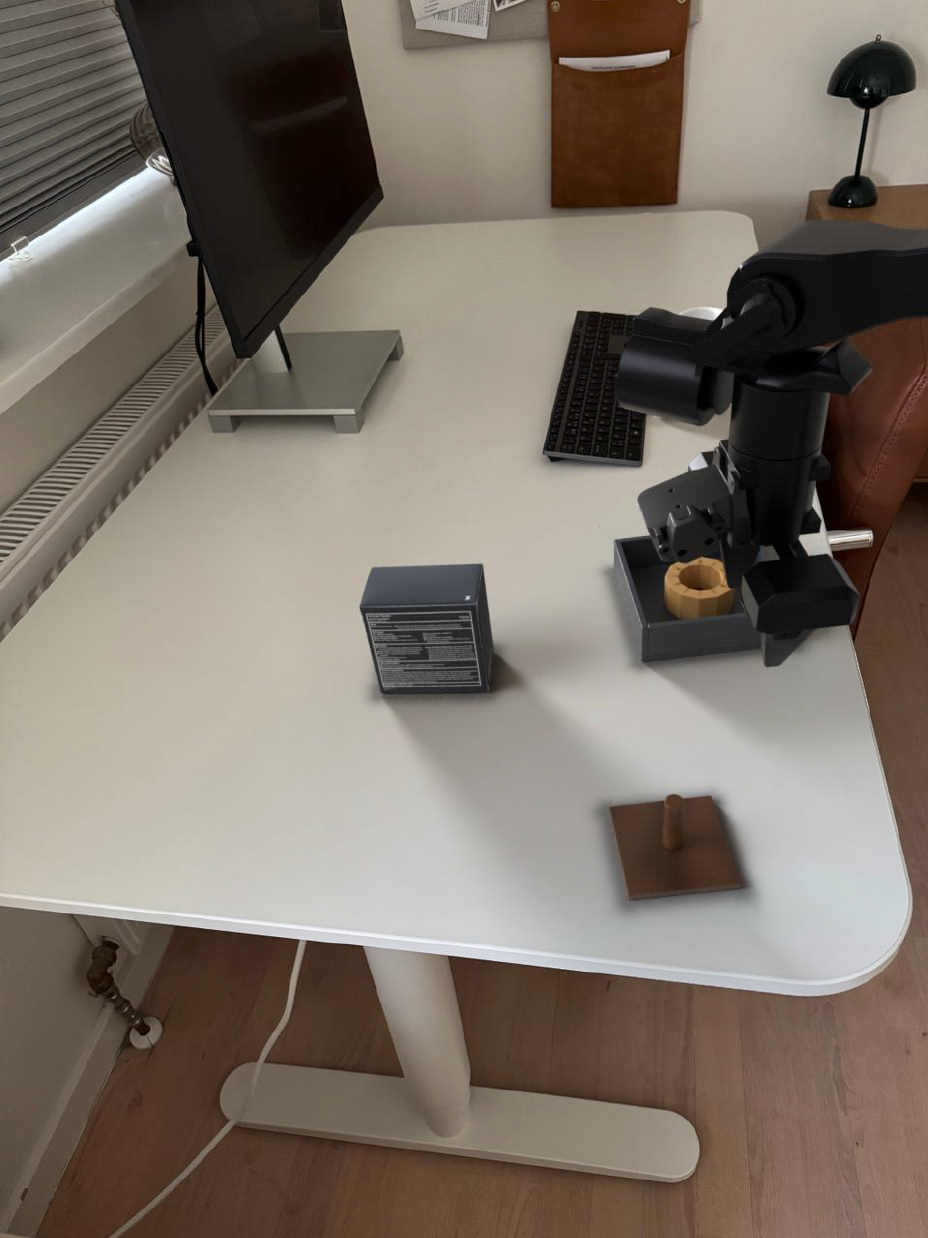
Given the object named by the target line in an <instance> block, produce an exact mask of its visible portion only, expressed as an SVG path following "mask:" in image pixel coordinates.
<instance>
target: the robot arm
mask: <svg viewBox="0 0 928 1238" xmlns="http://www.w3.org/2000/svg"><path fill="white" fill-rule="evenodd" d="M722 310H723V311H722V312H721V313H720V314H719V315H718V317H717V318H716V319H715V320H707V319H701V318H695V317H689V316H683V315H679V314H678V313H674V312H672V311H669V310H667V309H664V308H661V307H653V306H649V307H648V308H646V309H645V310H643V311H642V312H640V313H639V314H637V315H636V316H634V317H633V319H632V334H631V335H630V337H629V338H628V341H627V342H626V343H625V344H626V345H625V347H624V348H623V352H622V355H621V357H620V362H619V365H618V370H617V371H616V373H615V375H614V385H613V386H614V394H615V397H616V398H615V399H616V400H617V403H618V404H619V406H620V407H621V408H623V409H624V410H629V411H633V412H637V413H640V414H641V413H642V414H645V415H649V416H653V417H655V416H657V417H661V418H662V419H666V420H671V421H675V422H677V423H683V424H687V425H691V426H696V427H704V426H705V425H707V424H709V422H710V421H711V420H712V419H713V418H714V417H715V415H718V416H719V415H722V414H725V413H726V411H727V410H728V409H729V408H730V406H731V408H730V416H729V417H730V419H729V431H728V438H727V439H726V438H725V439H719V440H718V446H714V448H713V450H707V451H701V452H700V453H698V454H697V456H695V457H694V458H693V459H692V460H691V461H690V462H689V463H688V465H687V471H686V472H683V473H680V474H678V475H676V476H673V477H671V478H669V479H667V480H664V481H662V482H660V483H657V484H656V485H653V486H651V487H648V488H646V489H645V490H643V491H642V492H640V493H639V494H638V496H636V497H637V498H636V504H637V506H638V510H639V512H640V514H641V517H642V520H643V522H644V525H645V527H646V529H647V531H648V534H649V535H650V536H651V539H652V541H653V543H654V545H655V548H656V550H657V552H658V555H659V557H660V559H661V560H662V561H665V562H674V561H677V562H679V563H683V564H686V563H689V562H691V561H694V560H696V559H699V558H701V557H703V556H706V555H708V554H711V553H713V552H715V551H716V550H717V548H718V546H719V547H720V552H721V557H722V562H723V567H724V572H725V577H726V582H727V586H728V588H730V589H734V588H740V587H742V595H743V599H740V601H741V603H742V605H743V607H744V609H745V612H746V614H747V616H748V618H749V620H750V622H751V624H752V625H753V626H754V627H755V629H756V630H758V631H760V632H761V647H762V648H761V656H762V663H763V665H764V667H765V668H774V667H779V666H781V665H782V664H783V663H784V662H785V661H786V660H787V659H789V657H790V656H791V655H792V654H793V653H794V652H795V651H796V650H797V649H798V648H799V647H800V646H801V645H803V643H804V642H805V641H806V640H807V639H808V638H809V637H810V636H811V635H812V634H813V633H814V632H817V630H820V629H826V628H828V629H829V628H837V627H844V626H845V627H846V626H850V625H851V624H852V623H853V622H854V621H855V619H856V617H857V612H858V607H859V602H860V598H861V594H860V592H859V591H858V590H857V588H856V586H855V585H854V584H853V582H852V580H851V578H850V577H849V576H848V573H847V572H846V571H845V569H844V568H843V566H842V565H841V563H840V562H839V561H837V560H836V559H835V558H834V557H832V555H830V554H829V553H822V554H812V555H809V554H808V551H807V550H806V548H805V547H804V545H803V544H802V542H801V539H800V536H805V535H806V536H807V535H814V534H815V535H816V534H820V532H821V528H822V521H823V520H822V519H821V517H820V516H819V514H818V513H817V511H816V509H815V508H814V506H813V502H814V497H815V490H816V484H817V482H820V481H826V480H827V481H828V480H830V475H831V470H832V465H831V463H830V462H829V461H828V459H827V457H826V456H825V455H824V454H823V453H822V448H823V439H824V434H825V427H826V423H827V422H826V421H827V415H828V409H829V402H830V396H831V394H832V395H836V396H842V397H848V396H849V395H850V394H852V393H853V392H854V390H855V389H856V388H857V387H858V386H859V385H860V384H861V383H862V382H863V381H864V380H865V379H866V378H867V377H868V376H869V375H870V374H871V372H872V371H873V364H872V363H871V362H870V361H869V360H868V359H867V358H866V357H865V355H864V354H863V353H861V352H860V351H858V350H857V349H856V348H855V347H854V346H853V344H852V342H851V339H850V338H851V337H853V336H855V335H858V334H862V333H864V332H867V331H869V330H871V329H875V328H877V327H880V326H883V325H888V324H893V323H897V322H899V321H905V320H917V319H928V228H927V229H925V228H924V229H918V228H914V229H913V228H899V227H894V226H890V225H886V224H881V223H877V222H873V221H867V220H865V221H864V220H835V219H834V220H831V219H829V220H828V219H815V220H814V219H813V220H812V219H811V220H806V221H803V222H801V223H798V224H795V225H793V226H792V227H790V228H788V229H787V230H785V231H783V233H782V234H780V235H778V236H777V237H776V238H774V239H773V240H772V241H770V242H769V243H767V244H766V245H765V246H764V247H762V248H761V249H759V250H758V251H756V252H755V253H754V254H752V255H751V256H750V257H748V258H746V259H745V260H744V261H742V262H741V263H740V265H739V266H738V268H736V270H735V272H734V273H733V275H732V276H731V278H730V280H729V284H728V288H727V290H726V306H725V307H724V309H722ZM833 343H834V344H833ZM830 344H832V345H830ZM826 345H829V346H826ZM661 418H660V419H661ZM760 549H761V550H762V551H763V553H764V555H765V557H766V559H767V561H761V562H758V563H757V564H755V565H754V562H755V560H756V558H757V556H758V553H759V551H760ZM753 565H754V566H753Z"/></svg>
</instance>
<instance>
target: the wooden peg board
mask: <svg viewBox="0 0 928 1238" xmlns="http://www.w3.org/2000/svg"><path fill="white" fill-rule="evenodd" d="M608 813H609V817H610V822H611V826H612V830H613V836H614V839H615V844H616V850H617V854H618V857H619V863H620V867H621V872H622V877H623V880H624V885H625V890H626V894H627V899H628V901H631V900H632V901H634V900H643V899H652V898H661V897H669V896H679V895H680V896H681V895H690V894H697V893H698V894H699V893H707V892H717V891H718V892H719V891H727V890H736V889H741V886H742V882H741V879H740V877H739V873H738V870H737V868H736V864H735V862H734V859H733V856H732V852H731V849H730V847H729V843H728V841H727V838H726V835H725V832H724V829H723V826H722V823H721V820H720V817H719V814H718V811H717V808H716V805H715V802H714V799H713V796H712V795H702V796H701V795H700V796H694V797H684V798H683V797H682V796H681V795H679V794H678V793H677V794H676V793H670V794H668V795H667V796H666V797H665V798H664V800H658V801H657V800H656V801H649V802H640V803H639V802H637V803H631V804H630V803H629V804H621V805H611V806H609V807H608Z"/></svg>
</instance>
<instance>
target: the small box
mask: <svg viewBox="0 0 928 1238" xmlns="http://www.w3.org/2000/svg"><path fill="white" fill-rule="evenodd" d="M484 569H485V567H484V564H483V563H457V564H456V563H455V564H429V565H428V564H427V565H399V566H397V565H395V566H373V567H372V568H371V569H370V572H369V573H368V577H367V580H366V583H365V586H364V589H363V592H362V596H361V599H360V603H359V606H358V608H359V611H360V615H361V616H362V622H363V624H364V628H365V629H364V630H365V633H366V638H367V642H368V646H369V650H370V655H371V659H372V662H373V666H374V672H375V675H376V679H377V684H378V692H379V693H380V694H423V693H428V694H431V693H433V694H434V693H435V694H436V693H439V694H440V693H489V691H490V690H491V689H492V684H491V681H492V673H493V672H492V671H493V663H494V660H495V647H494V640H493V632H492V625H491V617H490V609H489V602H488V601H489V600H488V594H487V585H486V577H485V570H484Z"/></svg>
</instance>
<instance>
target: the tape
mask: <svg viewBox="0 0 928 1238" xmlns="http://www.w3.org/2000/svg"><path fill="white" fill-rule="evenodd" d="M694 588H700V589H705V590H703V591H698V590H693V589H694ZM734 595H735V588H734V589H730V588H728V586H727V582H726V577H725V572H724V567H723V563H722V562H720V561H718V560H715V559H709V558H704V557H701V558H699V559H696V560H694V561H691V562H689V563H686V564H683V563H679V562H677V563H675V564H673V565H671V566H670V568H669V569H668V571H667V573H666V575H665V590H664V601H665V604H666V607H667V609H668V611H670V612H671V613H672V614H674V615H675V616H677V617H678V618H680V619H683V620H686V619H695V618H703V617H712V616H720V615H727V614H728V613H730V610H731V608H732V606H733V603H734Z"/></svg>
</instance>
